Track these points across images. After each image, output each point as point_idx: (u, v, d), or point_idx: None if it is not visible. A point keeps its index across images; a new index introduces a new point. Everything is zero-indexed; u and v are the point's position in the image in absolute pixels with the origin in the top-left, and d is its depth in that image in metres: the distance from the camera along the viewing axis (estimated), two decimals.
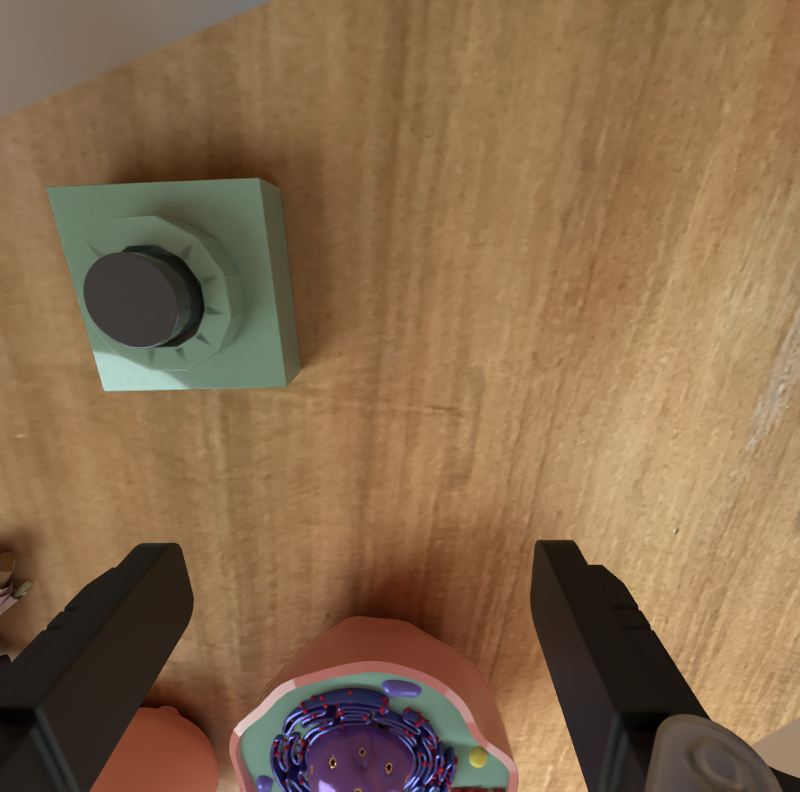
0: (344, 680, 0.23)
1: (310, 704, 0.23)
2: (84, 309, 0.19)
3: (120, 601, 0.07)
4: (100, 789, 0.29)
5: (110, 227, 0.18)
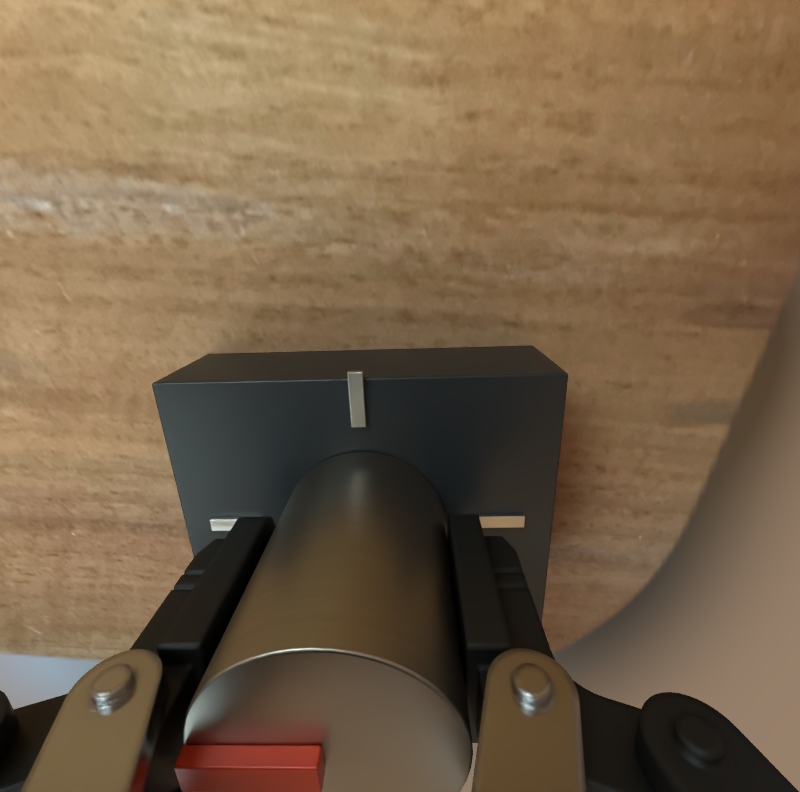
0: None
1: None
2: None
3: (241, 564, 0.08)
4: None
5: None
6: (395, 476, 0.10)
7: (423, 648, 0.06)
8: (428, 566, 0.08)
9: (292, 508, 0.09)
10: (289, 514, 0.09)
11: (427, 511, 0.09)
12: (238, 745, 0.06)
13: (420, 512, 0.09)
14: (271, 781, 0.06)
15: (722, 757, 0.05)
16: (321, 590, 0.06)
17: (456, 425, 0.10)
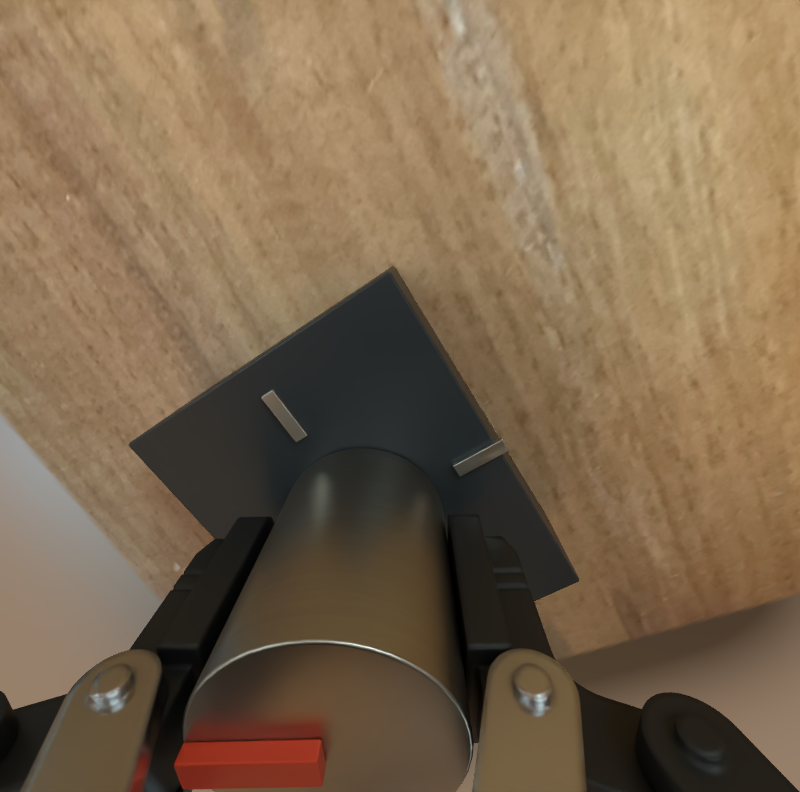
0: None
1: None
2: None
3: (240, 564, 0.08)
4: None
5: None
6: (391, 471, 0.10)
7: (419, 637, 0.06)
8: (425, 559, 0.08)
9: (289, 506, 0.09)
10: (286, 512, 0.09)
11: (424, 505, 0.09)
12: (237, 741, 0.06)
13: (417, 506, 0.09)
14: (271, 776, 0.06)
15: (723, 757, 0.05)
16: (316, 584, 0.06)
17: None
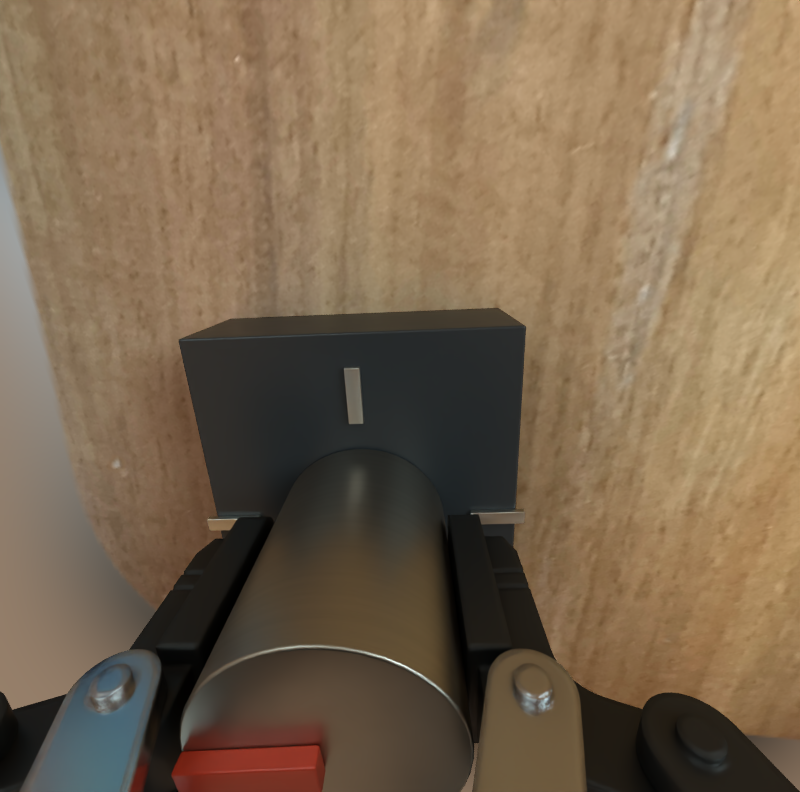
0: None
1: None
2: None
3: (240, 564, 0.08)
4: None
5: None
6: (388, 471, 0.10)
7: (415, 640, 0.06)
8: (422, 558, 0.07)
9: (286, 509, 0.09)
10: (283, 515, 0.09)
11: (422, 504, 0.09)
12: (236, 748, 0.06)
13: (415, 505, 0.09)
14: (270, 784, 0.06)
15: (723, 757, 0.05)
16: (310, 588, 0.06)
17: None
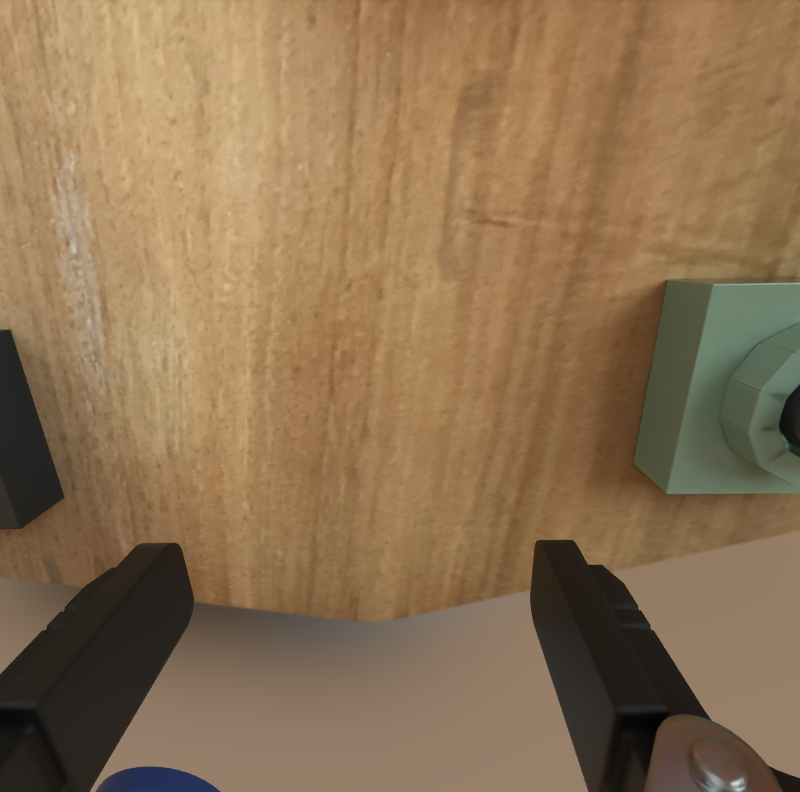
0: None
1: None
2: None
3: (120, 601, 0.07)
4: None
5: None
6: None
7: None
8: None
9: None
10: None
11: None
12: None
13: None
14: None
15: None
16: None
17: None
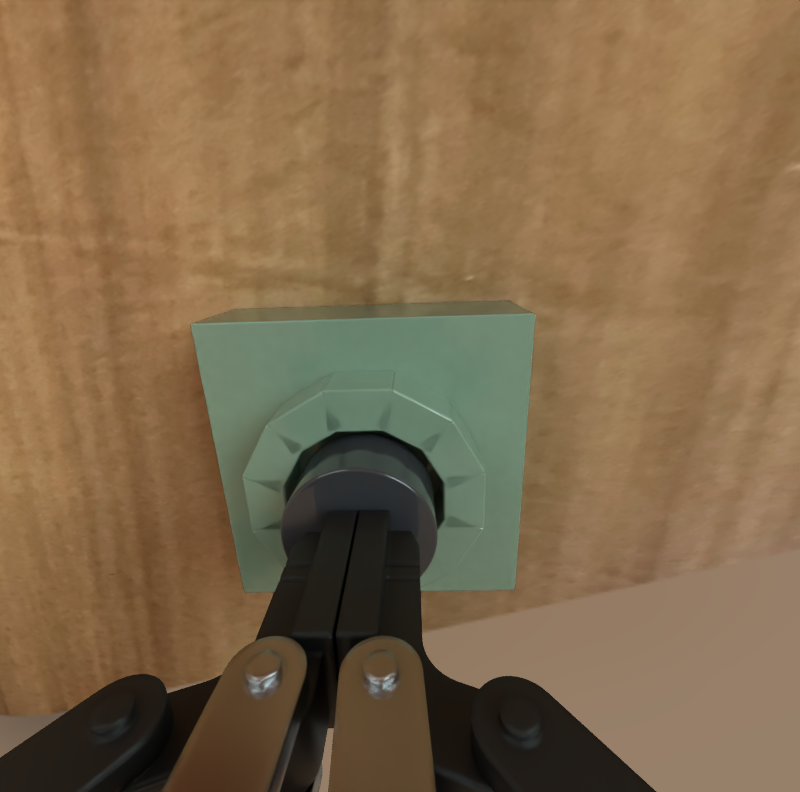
0: None
1: None
2: (482, 489, 0.12)
3: (346, 556, 0.08)
4: None
5: None
6: None
7: None
8: None
9: None
10: None
11: None
12: None
13: None
14: None
15: (535, 735, 0.05)
16: None
17: None
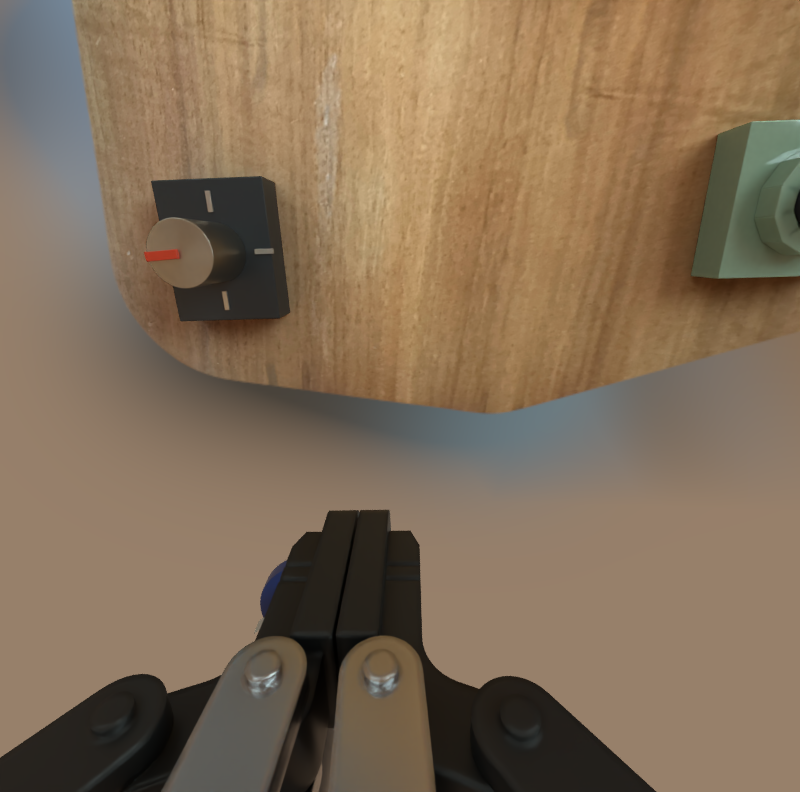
0: None
1: None
2: None
3: (346, 556, 0.08)
4: None
5: None
6: (218, 223, 0.30)
7: (199, 225, 0.26)
8: (214, 228, 0.28)
9: None
10: None
11: (226, 230, 0.29)
12: (159, 251, 0.26)
13: (222, 228, 0.29)
14: (165, 255, 0.26)
15: (535, 735, 0.05)
16: None
17: (259, 284, 0.32)
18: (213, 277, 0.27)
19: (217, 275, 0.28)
